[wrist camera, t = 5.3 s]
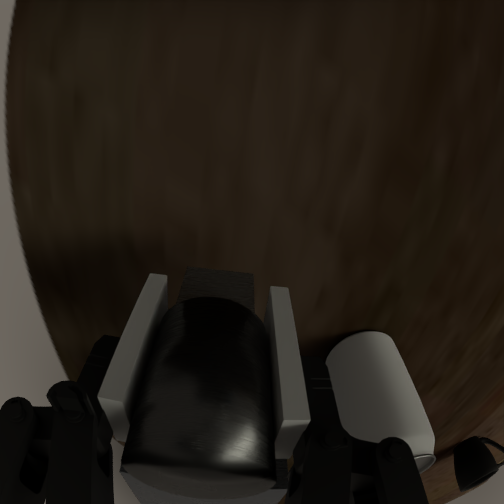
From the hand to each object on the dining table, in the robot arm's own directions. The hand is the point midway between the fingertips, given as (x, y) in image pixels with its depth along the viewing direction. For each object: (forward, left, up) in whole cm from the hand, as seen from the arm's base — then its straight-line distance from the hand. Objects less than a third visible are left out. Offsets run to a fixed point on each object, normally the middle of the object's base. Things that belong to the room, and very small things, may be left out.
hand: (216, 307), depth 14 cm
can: (+10, +12, -7) cm, 18 cm away
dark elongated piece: (+11, 0, -1) cm, 11 cm away
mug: (+37, +50, -7) cm, 62 cm away
